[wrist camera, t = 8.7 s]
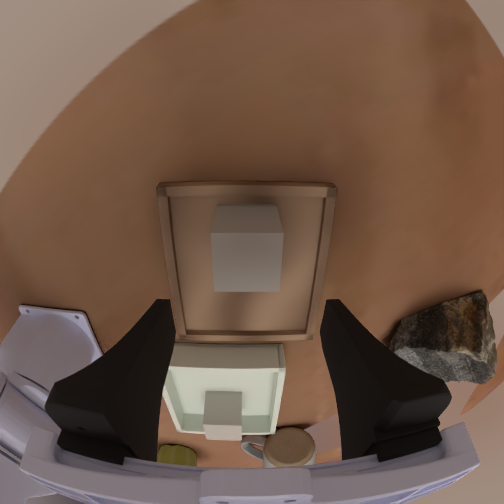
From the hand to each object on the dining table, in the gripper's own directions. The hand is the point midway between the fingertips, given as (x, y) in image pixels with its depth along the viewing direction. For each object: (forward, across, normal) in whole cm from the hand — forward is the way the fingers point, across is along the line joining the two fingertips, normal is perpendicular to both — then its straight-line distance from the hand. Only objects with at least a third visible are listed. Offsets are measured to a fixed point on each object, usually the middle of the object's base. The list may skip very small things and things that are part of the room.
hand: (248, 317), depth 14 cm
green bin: (+9, +2, +19) cm, 21 cm away
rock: (+10, -22, +12) cm, 27 cm away
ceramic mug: (+10, -5, +34) cm, 35 cm away
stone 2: (+9, 0, 0) cm, 9 cm away
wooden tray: (+9, 0, +4) cm, 10 cm away
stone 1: (+9, +2, +22) cm, 24 cm away
